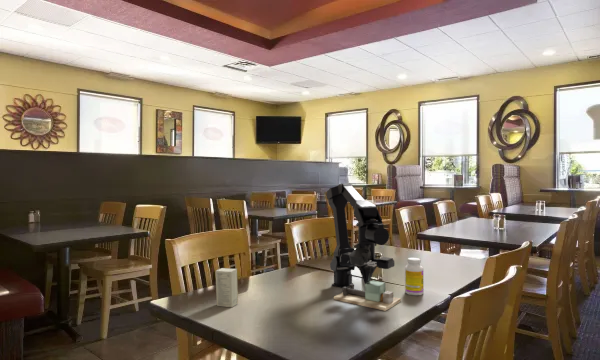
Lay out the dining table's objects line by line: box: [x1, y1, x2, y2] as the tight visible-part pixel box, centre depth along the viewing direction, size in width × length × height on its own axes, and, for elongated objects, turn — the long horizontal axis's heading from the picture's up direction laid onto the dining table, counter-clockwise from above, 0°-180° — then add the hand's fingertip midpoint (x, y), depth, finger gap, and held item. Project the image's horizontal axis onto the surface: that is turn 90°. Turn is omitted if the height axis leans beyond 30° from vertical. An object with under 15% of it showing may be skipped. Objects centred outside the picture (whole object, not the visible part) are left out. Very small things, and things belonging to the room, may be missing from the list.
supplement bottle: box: [404, 257, 424, 296], centre depth 146 cm, size 7×7×13 cm
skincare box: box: [215, 267, 239, 308], centre depth 134 cm, size 6×4×12 cm
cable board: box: [333, 283, 402, 312], centre depth 138 cm, size 20×12×4 cm, turn 52°
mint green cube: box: [364, 279, 387, 302], centre depth 136 cm, size 5×5×5 cm
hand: (366, 284), depth 138 cm, fingers closed
